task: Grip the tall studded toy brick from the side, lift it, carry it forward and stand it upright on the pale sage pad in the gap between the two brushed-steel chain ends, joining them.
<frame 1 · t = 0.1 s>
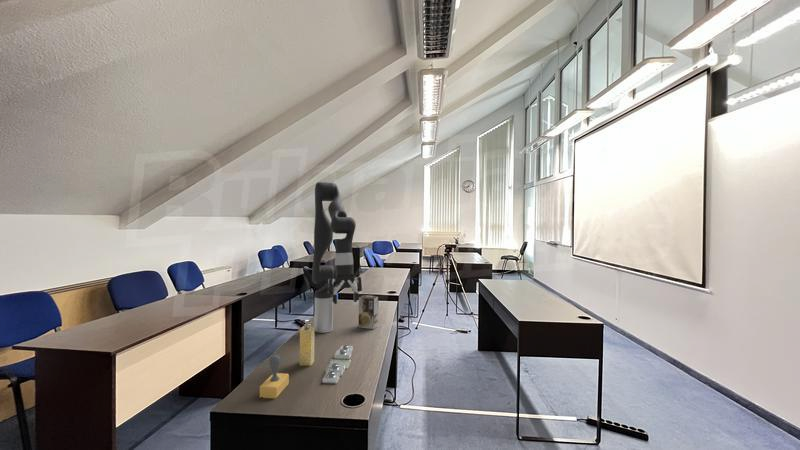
hand: (345, 302, 145), 22 cm above the table, tool pointing down, fingers open, 8 cm apart
rubber stamp: (274, 391, 116), on the table
tall studded toy brick: (306, 363, 138), on the table
chain ends: (339, 364, 137), on the table
coffee box: (368, 327, 185), on the table
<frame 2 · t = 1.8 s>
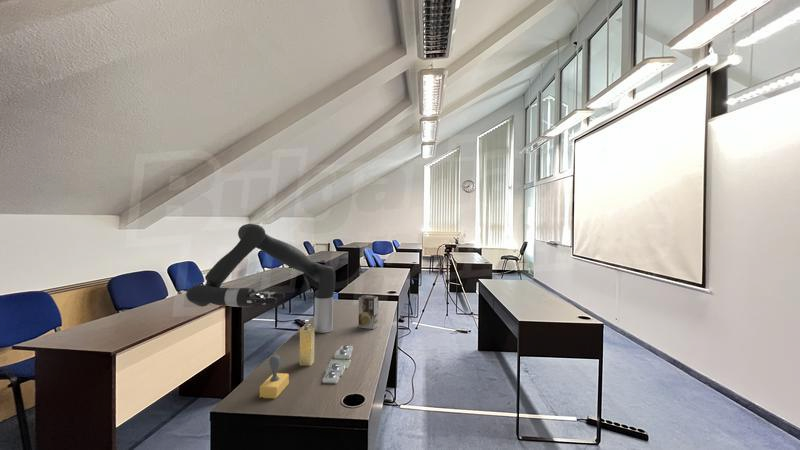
hand: (280, 298, 138), 25 cm above the table, tool horizontal, fingers open, 8 cm apart
nothing on the table moved.
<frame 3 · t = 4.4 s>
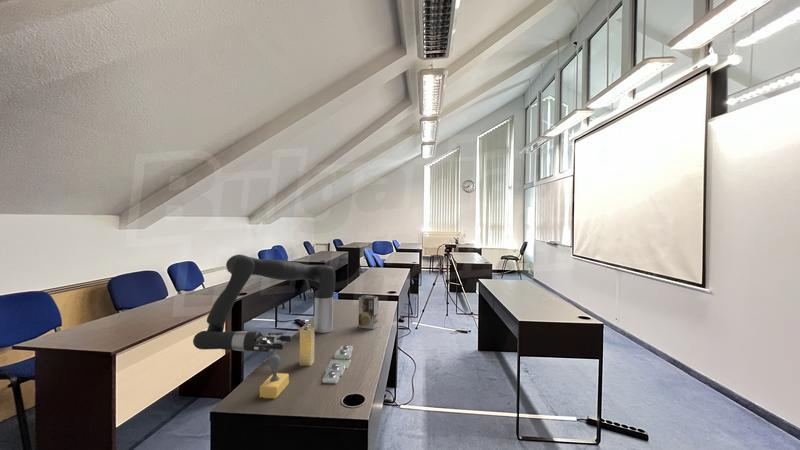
hand: (286, 342, 138), 8 cm above the table, tool horizontal, fingers open, 8 cm apart
nothing on the table moved.
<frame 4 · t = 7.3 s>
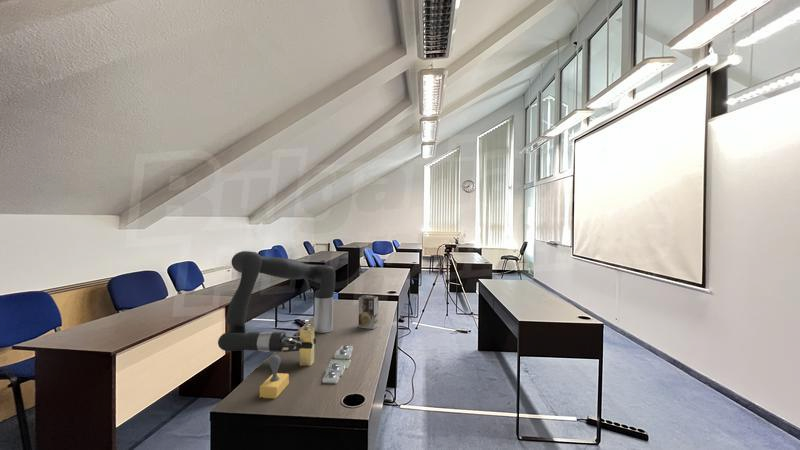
hand: (313, 343, 138), 8 cm above the table, tool horizontal, fingers closed on tall studded toy brick, 4 cm apart
tall studded toy brick: (306, 363, 138), on the table, touching gripper
everything else where it was.
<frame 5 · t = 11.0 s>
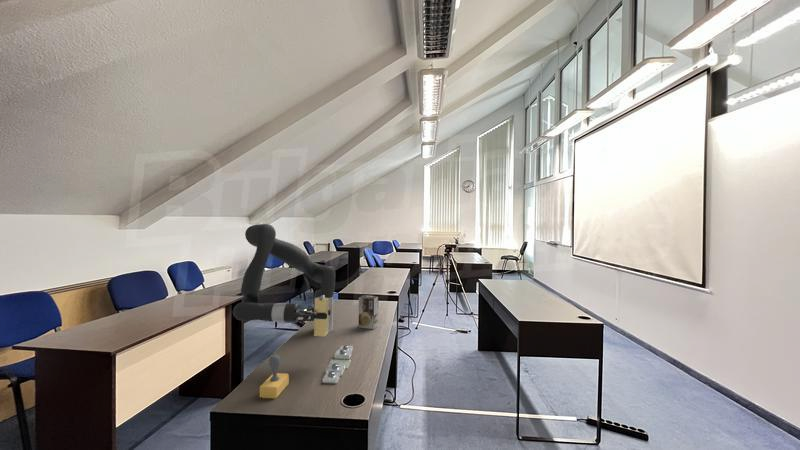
hand: (328, 314, 137), 20 cm above the table, tool horizontal, fingers closed on tall studded toy brick, 4 cm apart
tall studded toy brick: (321, 334, 137), point 12 cm above the table, touching gripper
everything else where it was.
when the fingers open (9 cm above the table, at t = 14.8 s): tall studded toy brick stays where it is, resting on chain ends.
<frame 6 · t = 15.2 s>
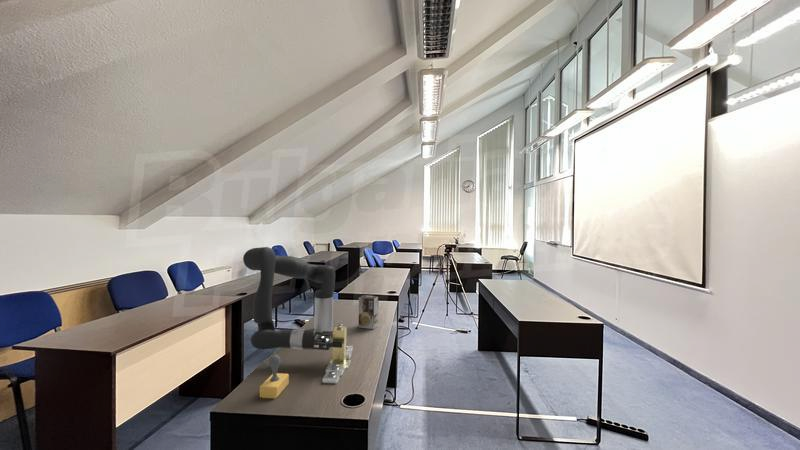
hand: (344, 340, 137), 10 cm above the table, tool horizontal, fingers open, 8 cm apart
tall studded toy brick: (339, 363, 137), resting on chain ends
everything else where it was.
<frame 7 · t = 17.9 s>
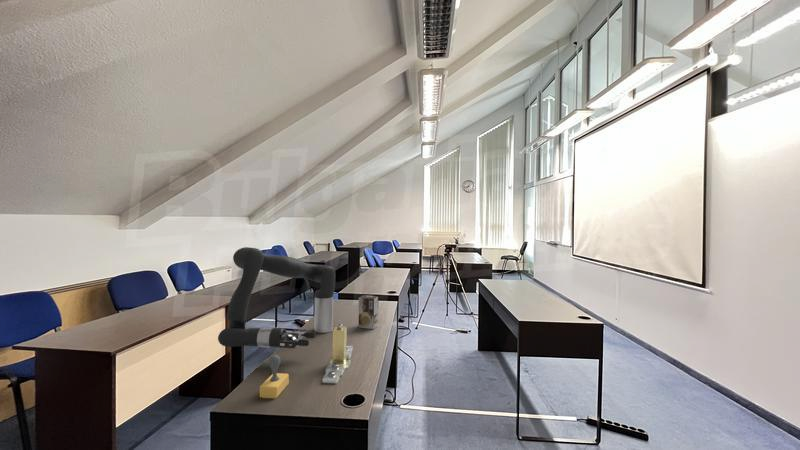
hand: (312, 338, 138), 10 cm above the table, tool horizontal, fingers open, 8 cm apart
nothing on the table moved.
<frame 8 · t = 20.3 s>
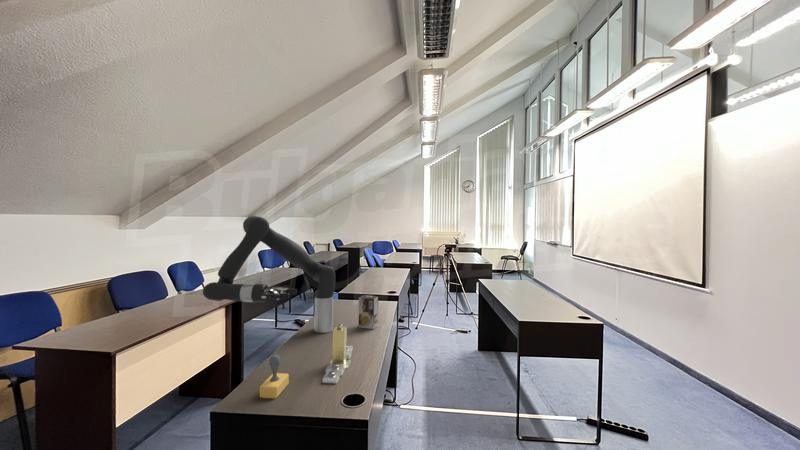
hand: (292, 294, 144), 26 cm above the table, tool horizontal, fingers open, 8 cm apart
nothing on the table moved.
at the end: tall studded toy brick 0.0 cm off-centre on the chain ends, point 0.3 cm above the chain ends's base; tall studded toy brick tilted 0°; the gripper is holding nothing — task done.
